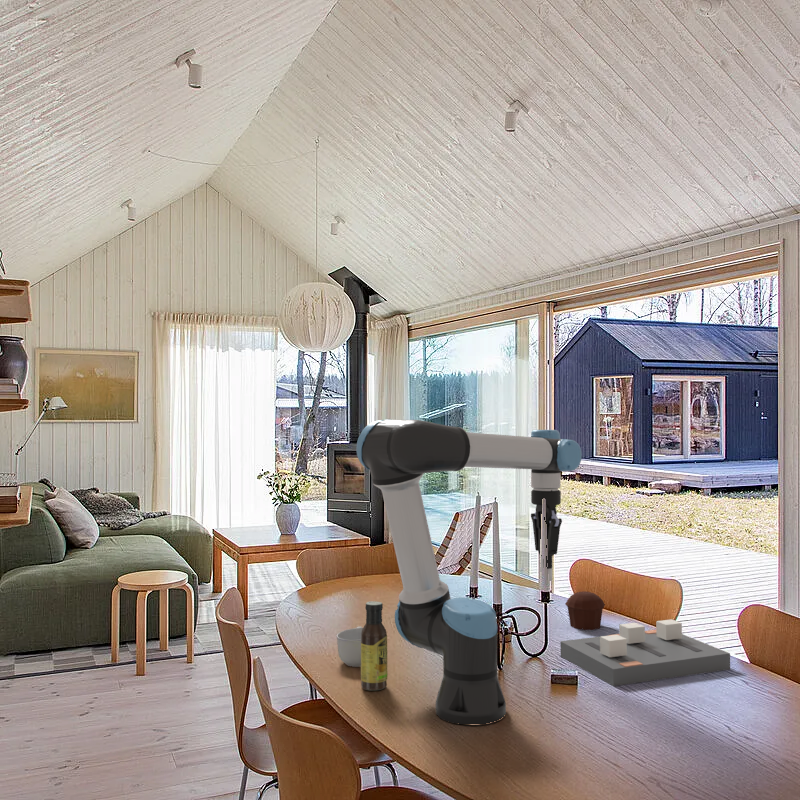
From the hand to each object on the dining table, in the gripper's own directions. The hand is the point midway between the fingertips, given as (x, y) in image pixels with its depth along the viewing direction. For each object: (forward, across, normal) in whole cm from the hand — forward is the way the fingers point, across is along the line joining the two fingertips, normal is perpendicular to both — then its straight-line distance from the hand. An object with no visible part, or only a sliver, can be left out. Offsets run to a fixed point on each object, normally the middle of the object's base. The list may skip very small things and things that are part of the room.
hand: (546, 580), depth 204 cm
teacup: (+22, +16, +46) cm, 53 cm away
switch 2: (+16, -4, -34) cm, 38 cm away
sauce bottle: (+22, -4, +47) cm, 52 cm away
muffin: (+21, +27, -27) cm, 43 cm away
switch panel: (+21, -8, -23) cm, 32 cm away
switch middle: (+16, -4, -23) cm, 29 cm away
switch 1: (+17, -12, -12) cm, 24 cm away
